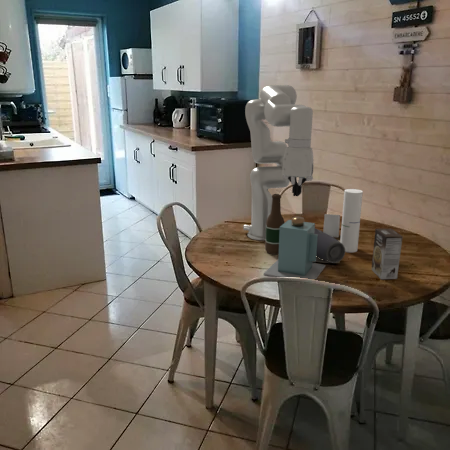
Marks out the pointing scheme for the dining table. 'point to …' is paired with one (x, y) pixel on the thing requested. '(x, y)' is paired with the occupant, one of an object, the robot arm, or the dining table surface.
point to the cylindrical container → (351, 219)
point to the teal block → (296, 252)
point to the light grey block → (331, 225)
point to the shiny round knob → (297, 221)
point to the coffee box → (386, 253)
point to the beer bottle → (274, 226)
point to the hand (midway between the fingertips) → (296, 195)
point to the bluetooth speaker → (329, 247)
